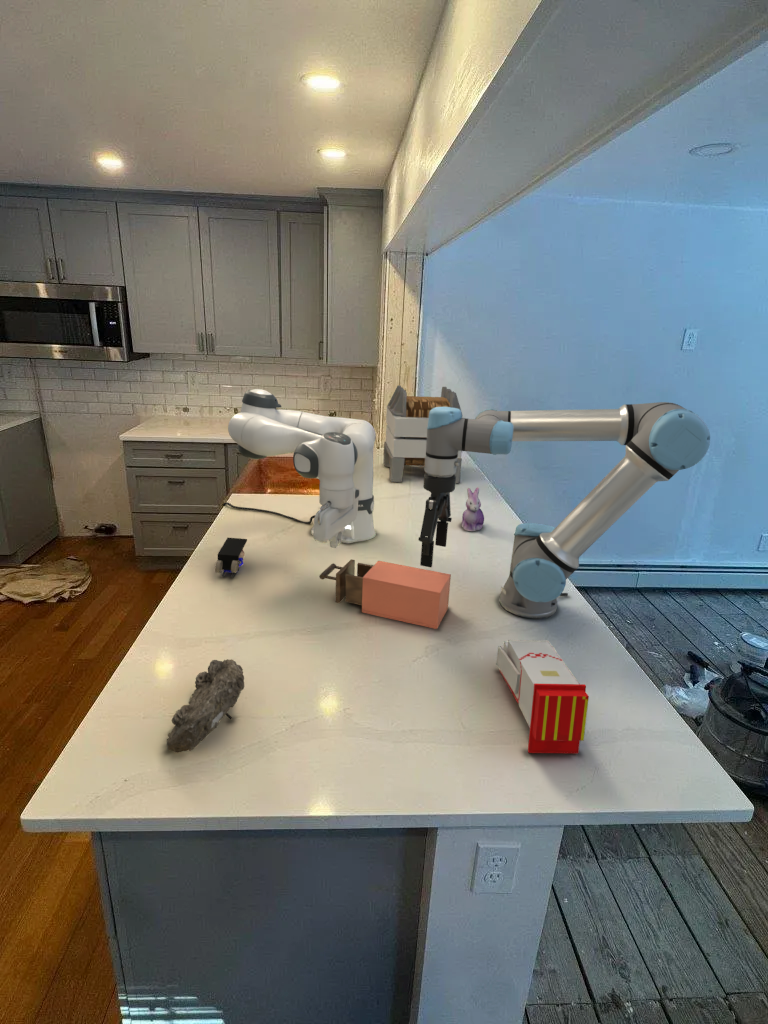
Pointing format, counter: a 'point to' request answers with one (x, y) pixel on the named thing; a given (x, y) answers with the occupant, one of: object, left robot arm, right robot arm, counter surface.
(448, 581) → the cabinet
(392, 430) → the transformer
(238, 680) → the fossil
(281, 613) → the counter surface
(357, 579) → the drawer
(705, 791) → the counter surface
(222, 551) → the figurine character
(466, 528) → the figurine
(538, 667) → the toy
